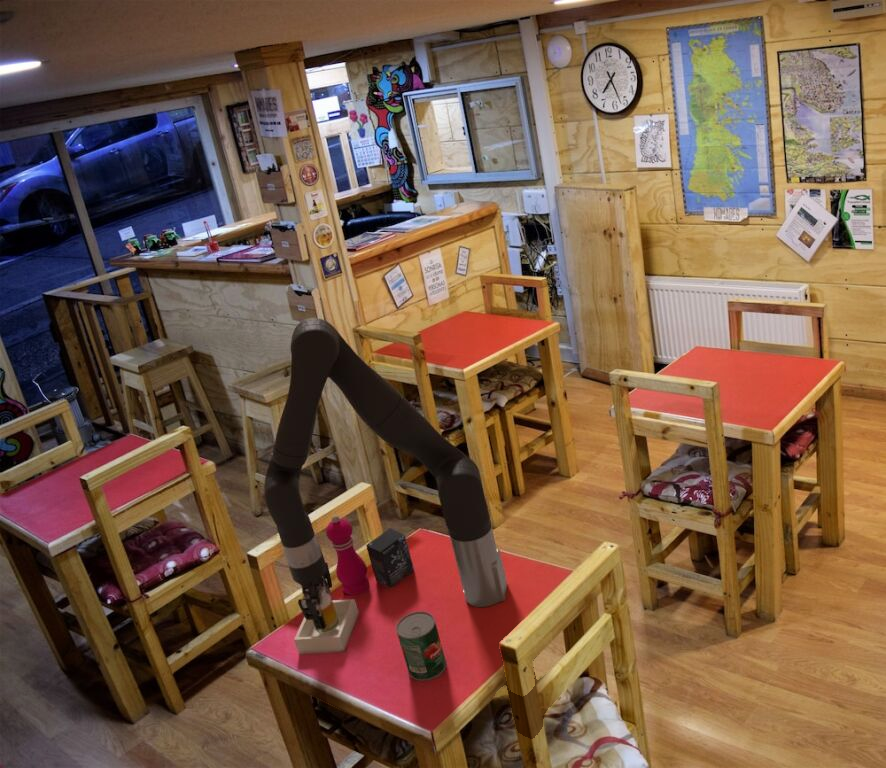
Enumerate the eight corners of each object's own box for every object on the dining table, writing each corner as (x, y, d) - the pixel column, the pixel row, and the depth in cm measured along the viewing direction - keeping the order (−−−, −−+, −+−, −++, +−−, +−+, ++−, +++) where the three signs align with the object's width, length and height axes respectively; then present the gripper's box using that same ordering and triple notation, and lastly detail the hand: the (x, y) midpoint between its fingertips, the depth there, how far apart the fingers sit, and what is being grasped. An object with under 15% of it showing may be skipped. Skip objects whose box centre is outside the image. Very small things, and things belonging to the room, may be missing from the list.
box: (391, 589, 205) (380, 551, 201) (375, 581, 209) (364, 544, 205) (415, 570, 209) (405, 533, 205) (399, 563, 213) (389, 527, 209)
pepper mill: (373, 575, 211) (352, 505, 203) (368, 594, 205) (347, 522, 197) (344, 579, 212) (322, 509, 204) (338, 598, 206) (316, 526, 198)
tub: (358, 613, 199) (354, 599, 197) (344, 651, 188) (339, 637, 186) (315, 615, 202) (311, 601, 200) (299, 654, 190) (294, 639, 189)
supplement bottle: (343, 619, 195) (332, 583, 191) (331, 635, 191) (319, 599, 187) (323, 616, 197) (311, 581, 194) (310, 633, 193) (298, 597, 189)
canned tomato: (407, 658, 182) (395, 616, 178) (444, 649, 182) (433, 607, 178) (409, 685, 175) (396, 641, 170) (448, 676, 175) (436, 632, 170)
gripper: (310, 575, 179) (332, 640, 186) (330, 534, 192) (350, 596, 199) (276, 578, 181) (299, 642, 188) (298, 537, 194) (318, 598, 200)
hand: (325, 618), depth 193 cm, fingers closed on supplement bottle, 5 cm apart
